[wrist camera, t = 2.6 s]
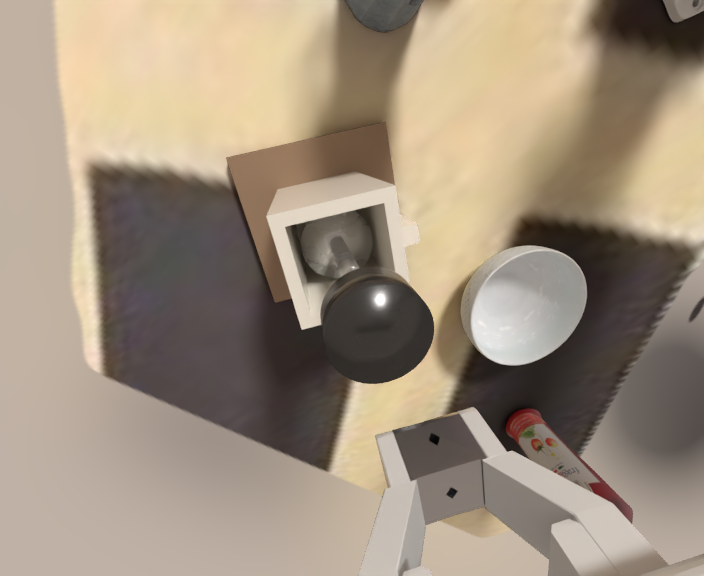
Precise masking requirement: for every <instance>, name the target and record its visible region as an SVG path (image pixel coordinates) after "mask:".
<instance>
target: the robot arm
mask: <svg viewBox="0 0 704 576" xmlns="http://www.w3.org/2000/svg"><path fill="white" fill-rule="evenodd" d="M663 2H664V4H665V7H666V9H667V12H668V14H669V17H670V18H671V20H672V21H673V22H680V21H683V20H685V19H687V18H689V17H691V16H694V15H696V14H698V13H700V12H702V11H704V0H663ZM375 437H376V441H377V446H378V450H379V454H380V458H381V462H382V466H383V470H384V475H385V479H386V482H387V486H388V488H386V489H385V490H384V493H383V496H382V500H381V503H380V506H379V509H378V513H377V516H376V519H375V522H374V526H373V530H372V532H371V536H370V539H369V542H368V546H367V549H366V552H365V555H364V558H363V562H362V565H361V568H360V572H359V575H358V576H432V573H431V570H429V569H427V568H425V567H423V566H420V565H421V557H422V551H423V543H424V536H425V529H426V527H425V525H427V524H430V523H433V522H436V521H439V520H442V519H445V518H448V517H451V516H453V515H457V514H460V513H464V512H468V511H471V510H475V509H478V508H482V507H485V508H486V509H487V510H488V511H489V512H490V513H492V514H493V515H494V516H495V517H497V518H498V519H499V520H500V521H502V522H503V523H504V524H505V525H507V526H508V527H509V528H510V529H512V530H513V531H514V532H515V533H517V534H518V535H519V536H521V537H522V538H523V539H524V540H525V541H527V542H528V543H529V544H530V545H532V546H533V547H534V548H535V549H537V550H538V551H539V552H540V553H541V554H543V555H544V556H545V557H546V558H548V559H549V570H548V576H704V554H702V555H699V556H696V557H693V558H690V559H687V560H684V561H681V562H678V563H675V564H672V565H668V564H667V562H665V560H664V559H663V558H662V557H661V556H660V555H659V554H658V553H657V551H655V549H654V548H653V547H652V546H651V545H650V544H649V543H648V542H647V540H646V539H645V538H644V537H643V536H642V535H641V534H640V533H639V532H638V531H637V530H636V528H635V527H634V526H633V525H632V524H631V523H630V522H629V521H628V520H627V518H626V517H625V516H624V515H623V514H622V513H621V512H620V511H619V510H618V508H617V507H616V506H615V505H614V504H613V503H611V502H609V501H607V500H606V499H604V498H602V497H600V496H598V495H596V494H594V493H592V492H590V491H588V490H586V489H585V488H583V487H581V486H579V485H577V484H575V483H573V482H571V481H569V480H567V479H565V478H564V477H562V476H560V475H558V474H556V473H554V472H552V471H550V470H548V469H546V468H545V467H543V466H541V465H539V464H537V463H535V462H533V461H531V460H529V459H527V458H525V457H524V456H522V455H520V454H518V453H516V452H514V451H509V452H507V451H506V450H505V448H504V447H503V446H502V444H501V443H500V441H499V440H498V439H497V437H496V436H495V434H494V433H493V432H492V430H491V429H490V427H489V426H488V425H487V423H486V422H485V421H484V419H483V418H482V416H481V415H480V414H479V412H478V411H477V409H475V408H474V407H472V408H468V409H465V410H461V411H458V412H454V413H451V414H447V415H444V416H441V417H437V418H434V419H431V420H428V421H424V422H422V423H419V424H415V425H411V426H407V427H403V428H399V429H395V430H392V431H389V432H385V433H381V434H378V435H375Z"/></svg>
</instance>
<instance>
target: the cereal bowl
mask: <svg viewBox="0 0 704 576" xmlns="http://www.w3.org/2000/svg"><path fill="white" fill-rule="evenodd" d="M586 300H587V285H586V280H585V277H584V274H583V272H582V270H581V268H580V267H579V266H578V264H577V263H576V262H575V261H574V260H573V259H571V258H570V257H569V256H567V255H565V254H564V253H561V252H559V251H556V250H553V249H549V248H546V247H541V246H529V245H528V246H519V247H514V248H510V249H507V250H504V251H502V252H499V253H498V254H496V255H494V256H492V257H491V258H490V259H488V260H487V261H485V262H484V263H483V264H482V265H481V266H480V267H479V268H478V269H477V270H476V272H474V274H473V275H472V277H471V278H470V280H469V281H468V283H467V286H466V288H465V290H464V293H463V296H462V302H461V321H462V325H463V327H464V330H465V332H466V335H467V336H468V338H469V339H470V341H471V343H472V344H473V345H474V346H475V347H476V348H477V350H478V351H479V352H480V353H481V354H483V355H484V356H485V357H487V358H488V359H490V360H491V361H494V362H496V363H499V364H503V365H523V364H528V363H531V362H534V361H536V360H539V359H541V358H543V357H545V356H547V355H548V354H550V353H551V352H553V351H554V350H555V349H557V348H558V347H559V346H561V345H562V344H563V343H564V342H565V341H566V340H567V339H568V338H569V336H570V335H571V334H572V332H573V331H574V330H575V328H576V327H577V325H578V323H579V321H580V319H581V317H582V315H583V312H584V309H585V305H586Z"/></svg>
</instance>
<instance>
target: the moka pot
mask: <svg viewBox="0 0 704 576" xmlns="http://www.w3.org/2000/svg"><path fill="white" fill-rule="evenodd" d="M346 2H347V4H348V6H349V8H350V9H351V11H352V12H353V14H354V15H355V17H356V19H357V20H358V21H359V22H360V23H362V24H364V25H365V26H367V27H369V28H372V29H373V30H376V31H379V32H388V31H391V30H394V29H396V28H399V27H401V26H402V25H404V24H407V23H408V22H409V21H410V20H411V19H412V17H413V16H414V14H415V13H416V11H417V9H418V8H419V6H420V5H421V3H422V2H423V0H346Z"/></svg>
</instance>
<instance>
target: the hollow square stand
mask: <svg viewBox="0 0 704 576" xmlns="http://www.w3.org/2000/svg"><path fill="white" fill-rule="evenodd" d="M226 159H227V162H228V165H229V168H230V171H231V174H232V177H233V180H234V183H235V186H236V189H237V192H238V195H239V198H240V201H241V204H242V207H243V210H244V213H245V216H246V219H247V222H248V225H249V227H250V230H251V233H252V236H253V239H254V242H255V245H256V248H257V251H258V254H259V257H260V260H261V263H262V266H263V269H264V272H265V275H266V278H267V281H268V284H269V287H270V290H271V293H272V296H273V299H274V302H275V303H276V302H280V301H284V300H288V299H292V300H293V303H294V307H295V310H296V313H297V316H298V319H299V323H300V326H301V329H302V330H303V329H307V328H311V327H315V326H318V325H321V319H320V311H321V305H322V301H323V299H324V296H325V294H326V293H327V291H328V290H329V288H330V287H331V285H332V284H333V283H334V282H335V281H336V280H338V279H339V278H330V277H326V276H323V275H321V274H319V273H317V272H315V271H314V270H313V269H312V268H311V267H310V266H309V265H308V264H307V262H306V260H305V258H304V256H303V253H302V249H301V236H302V232H303V229H304V227H305V225H306V223H307V222H308V221H311V220H316V219H320V218H324V217H328V216H332V215H336V214H340V213H345V212H349V211H355V212H357V213H358V214H359V215H360V216H361V217H362V218H363V219H364V220H365V221H366V222H367V224H368V226H369V227H370V230H371V233H372V238H373V246H372V251H371V254H370V257H369V259H368V260H367V262H366V263H365V265H364V266H363V267H382V268H386V269H389V270H392V271H394V272H396V273H398V274H399V275H400V276H402V277H403V278H404V279H405V280H406V281H407V282H408V283H409V285H410V280H409V273H408V266H407V259H406V253H405V246H408V245H412V244H416V243H420V240H419V232H418V224H417V223H415V222H413V221H412V220H410V219H408V218H407V217H405V216H403V215H402V214H400V212H399V205H398V198H397V192H396V185H395V184H394V177H393V170H392V163H391V157H390V150H389V143H388V136H387V130H386V123H385V122H382V123H378V124H373V125H369V126H364V127H360V128H356V129H351V130H347V131H342V132H338V133H333V134H329V135H324V136H320V137H316V138H311V139H307V140H302V141H298V142H293V143H289V144H284V145H280V146H276V147H271V148H267V149H262V150H258V151H253V152H249V153H245V154H240V155H236V156H231V157H227V158H226ZM363 267H362V268H363Z"/></svg>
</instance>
